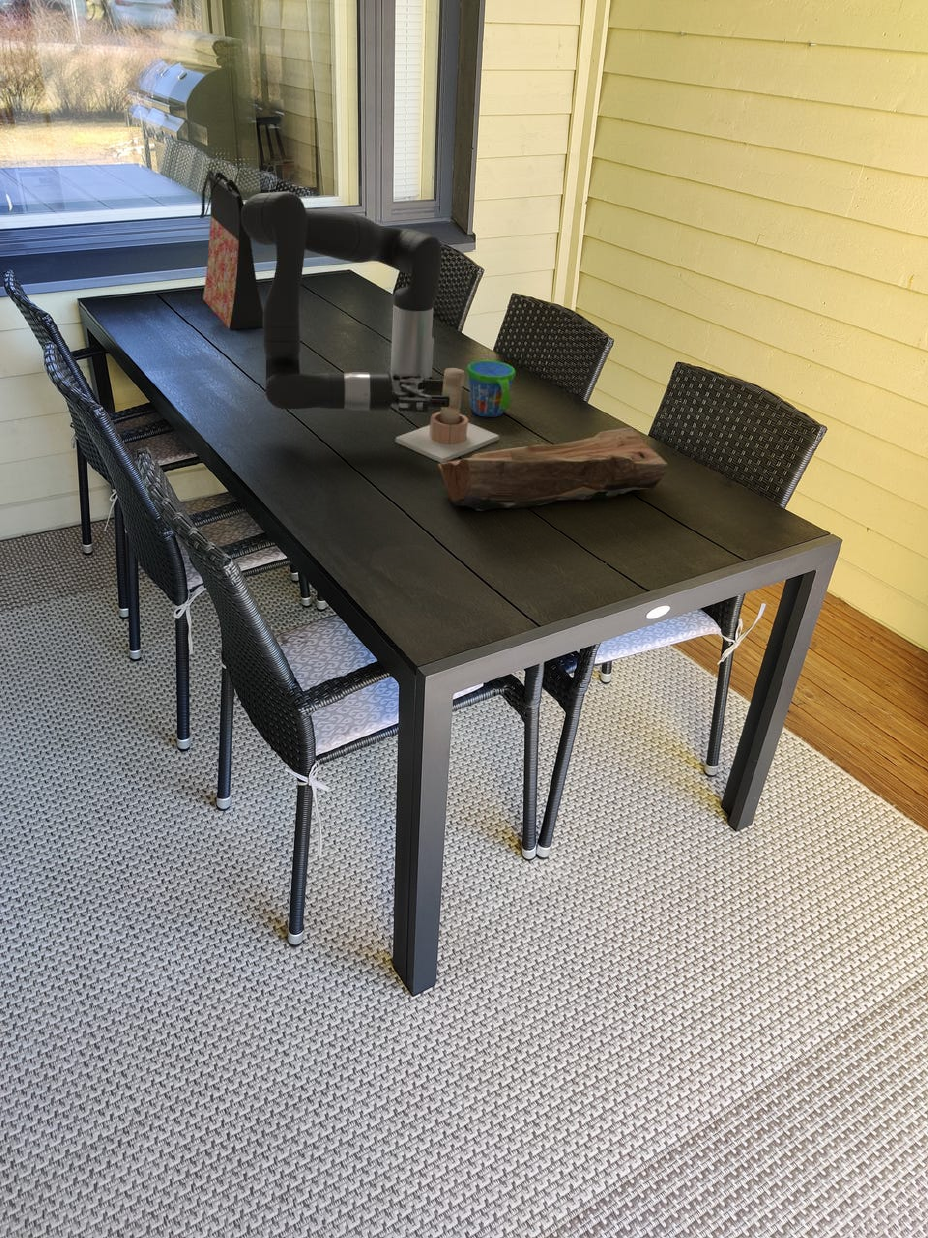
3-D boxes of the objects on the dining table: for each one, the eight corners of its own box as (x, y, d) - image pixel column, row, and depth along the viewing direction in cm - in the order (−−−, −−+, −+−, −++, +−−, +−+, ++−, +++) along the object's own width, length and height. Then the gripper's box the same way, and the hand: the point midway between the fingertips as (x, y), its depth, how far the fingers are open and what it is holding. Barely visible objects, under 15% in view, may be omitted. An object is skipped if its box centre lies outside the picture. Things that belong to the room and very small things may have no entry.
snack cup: (453, 399, 225) (457, 356, 219) (495, 397, 228) (500, 354, 223) (477, 427, 213) (481, 382, 207) (521, 424, 217) (527, 379, 211)
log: (451, 521, 176) (474, 447, 167) (422, 471, 188) (442, 400, 180) (647, 532, 193) (677, 466, 185) (609, 486, 206) (635, 422, 198)
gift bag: (192, 299, 269) (182, 161, 249) (243, 296, 275) (237, 161, 255) (222, 334, 248) (214, 186, 228) (276, 330, 254) (273, 185, 234)
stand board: (452, 420, 215) (453, 416, 214) (498, 439, 208) (499, 435, 208) (395, 441, 203) (395, 437, 203) (442, 463, 197) (442, 458, 196)
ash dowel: (442, 430, 207) (449, 366, 200) (460, 435, 206) (467, 370, 199) (435, 436, 204) (441, 371, 197) (452, 441, 203) (459, 376, 195)
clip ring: (446, 426, 210) (448, 408, 207) (473, 437, 206) (475, 419, 204) (422, 435, 205) (423, 417, 202) (449, 447, 201) (451, 429, 199)
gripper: (370, 386, 189) (453, 388, 192) (364, 360, 200) (442, 362, 203) (369, 423, 193) (450, 424, 196) (363, 395, 205) (440, 397, 208)
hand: (446, 393), depth 200 cm, fingers open, 8 cm apart
